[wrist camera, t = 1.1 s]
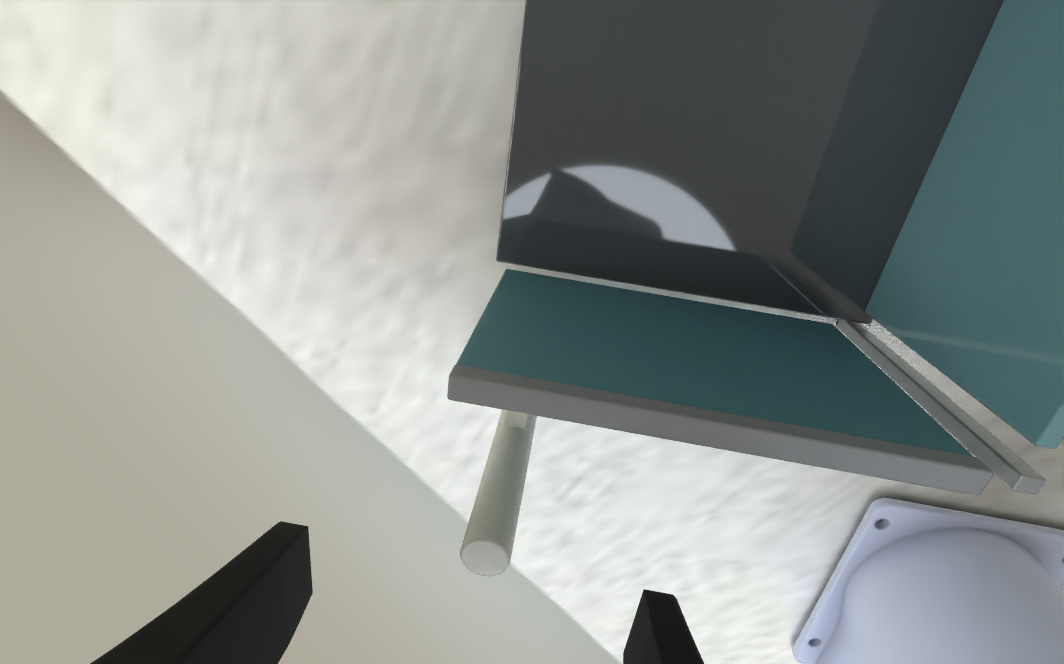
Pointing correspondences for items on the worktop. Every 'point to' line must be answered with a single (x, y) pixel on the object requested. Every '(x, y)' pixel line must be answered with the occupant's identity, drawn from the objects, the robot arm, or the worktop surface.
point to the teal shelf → (682, 391)
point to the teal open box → (816, 177)
